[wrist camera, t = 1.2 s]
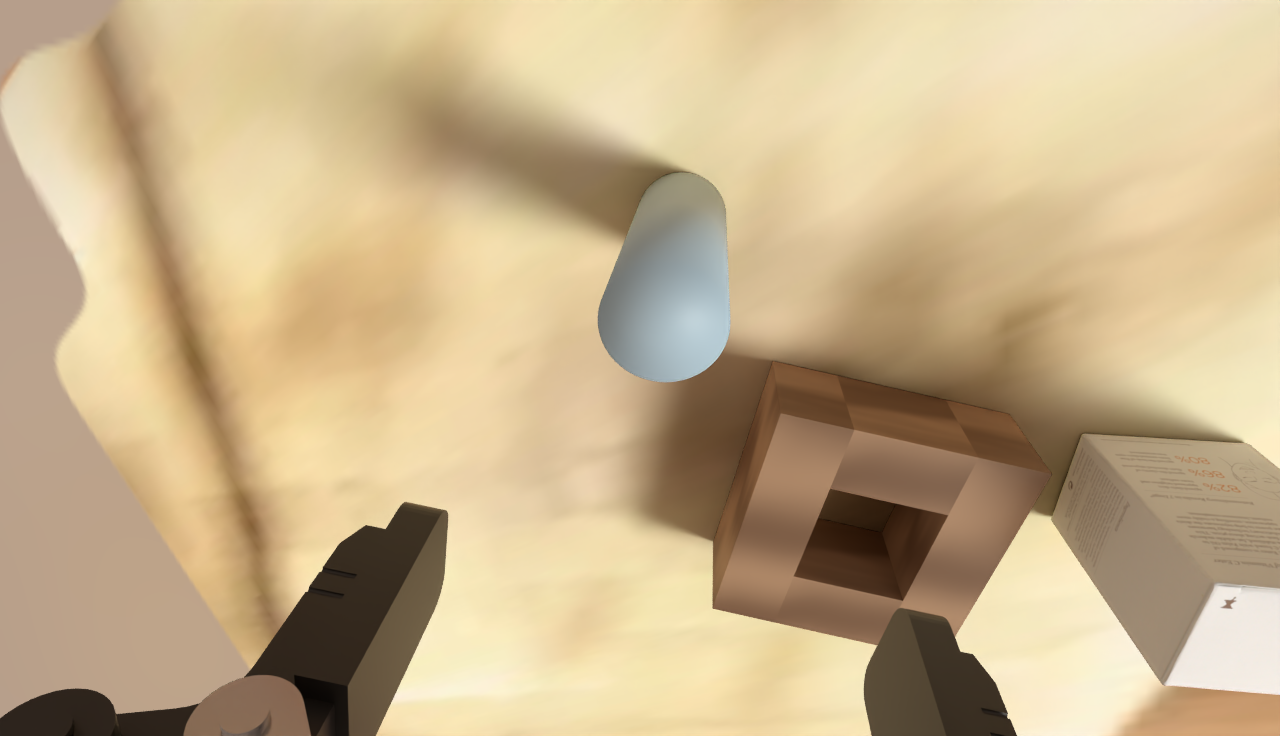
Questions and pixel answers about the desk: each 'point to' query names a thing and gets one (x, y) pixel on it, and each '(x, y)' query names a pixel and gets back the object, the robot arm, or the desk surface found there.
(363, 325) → the desk surface
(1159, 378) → the desk surface
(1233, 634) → the small box
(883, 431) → the socket block
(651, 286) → the peg
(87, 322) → the desk surface
